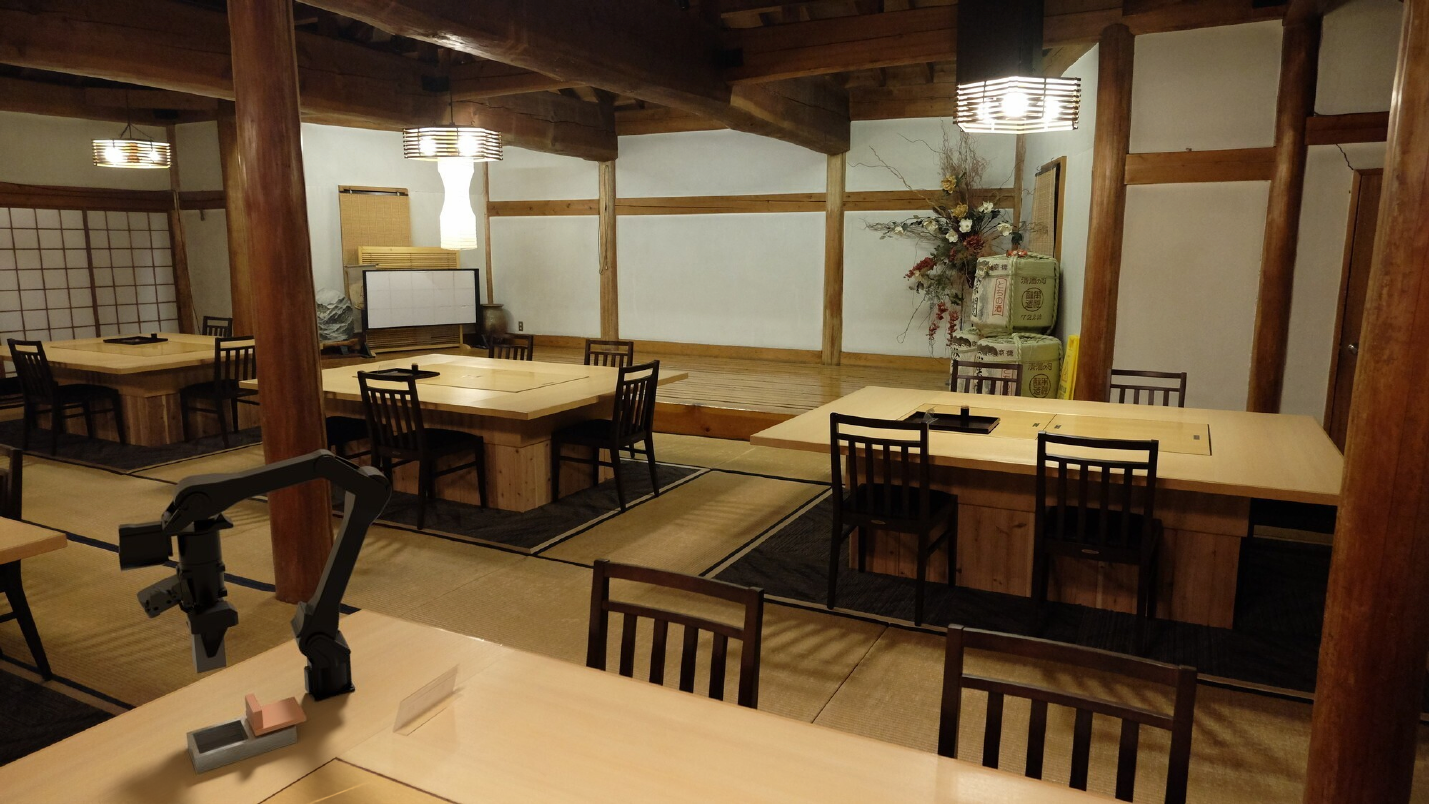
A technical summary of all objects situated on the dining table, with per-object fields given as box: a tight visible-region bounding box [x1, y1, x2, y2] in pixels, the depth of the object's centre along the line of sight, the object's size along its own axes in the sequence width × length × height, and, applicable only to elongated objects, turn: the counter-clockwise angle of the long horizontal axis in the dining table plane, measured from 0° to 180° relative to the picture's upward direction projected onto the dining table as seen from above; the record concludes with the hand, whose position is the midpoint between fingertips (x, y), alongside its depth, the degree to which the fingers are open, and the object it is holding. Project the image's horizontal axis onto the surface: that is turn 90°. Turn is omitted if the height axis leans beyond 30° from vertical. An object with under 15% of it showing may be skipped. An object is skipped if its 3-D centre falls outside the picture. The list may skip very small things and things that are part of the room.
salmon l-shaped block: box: [244, 692, 307, 736], centre depth 133 cm, size 7×7×4 cm
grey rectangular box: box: [185, 714, 298, 775], centre depth 131 cm, size 13×8×2 cm, turn 129°
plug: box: [189, 631, 227, 674], centre depth 136 cm, size 4×4×8 cm
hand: (209, 651), depth 136 cm, fingers closed on plug, 4 cm apart
